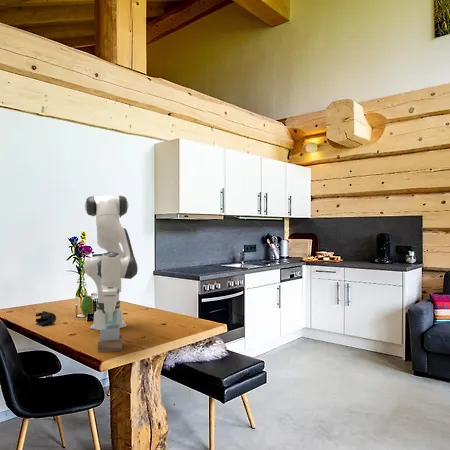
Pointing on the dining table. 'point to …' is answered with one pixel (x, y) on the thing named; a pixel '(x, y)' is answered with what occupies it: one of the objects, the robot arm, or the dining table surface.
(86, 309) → the avocado
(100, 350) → the tower base
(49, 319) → the end cap
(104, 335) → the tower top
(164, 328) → the dining table surface
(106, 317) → the teal block
